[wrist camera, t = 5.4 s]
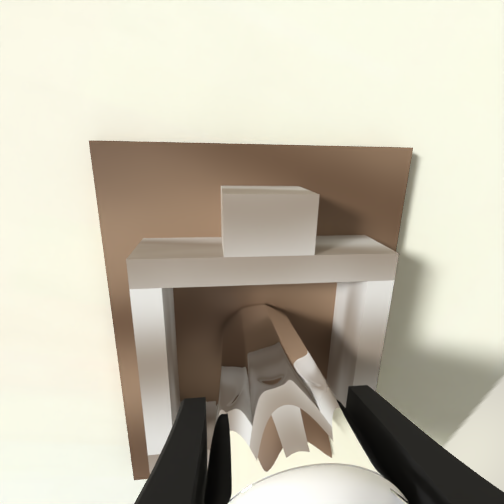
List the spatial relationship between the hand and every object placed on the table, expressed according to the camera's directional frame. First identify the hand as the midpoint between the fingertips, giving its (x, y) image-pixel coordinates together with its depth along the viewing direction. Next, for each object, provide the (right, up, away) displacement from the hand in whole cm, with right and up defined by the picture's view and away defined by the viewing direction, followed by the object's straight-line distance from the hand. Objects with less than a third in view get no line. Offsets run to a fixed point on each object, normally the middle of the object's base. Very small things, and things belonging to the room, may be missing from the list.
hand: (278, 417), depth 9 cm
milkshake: (0, +2, +5) cm, 5 cm away
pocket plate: (-1, +2, +5) cm, 5 cm away
